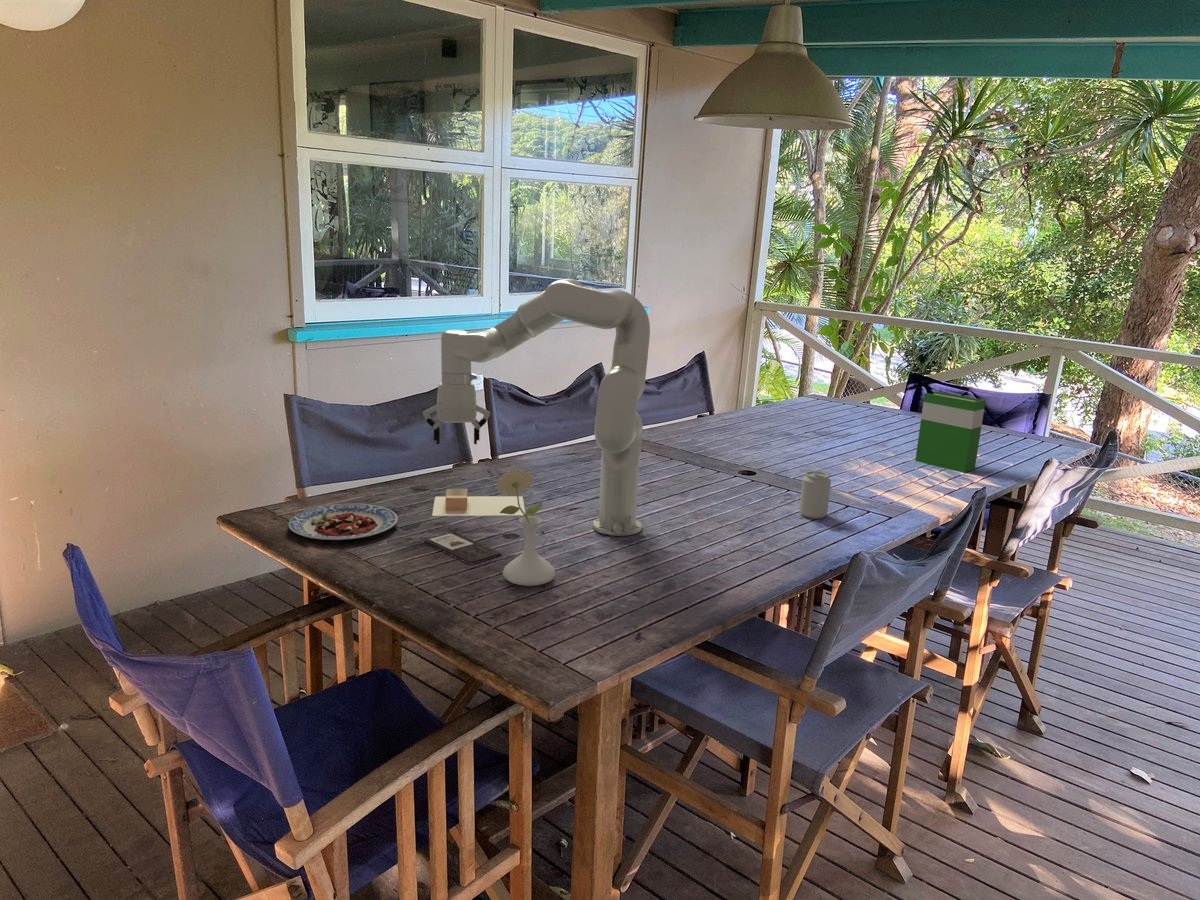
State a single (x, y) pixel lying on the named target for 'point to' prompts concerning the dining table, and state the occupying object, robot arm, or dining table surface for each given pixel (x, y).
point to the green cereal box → (950, 431)
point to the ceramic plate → (343, 521)
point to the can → (815, 495)
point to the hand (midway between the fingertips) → (456, 443)
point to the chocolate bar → (463, 547)
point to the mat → (481, 506)
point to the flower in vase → (529, 564)
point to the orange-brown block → (456, 500)
